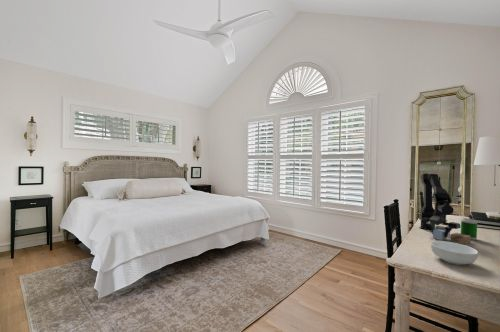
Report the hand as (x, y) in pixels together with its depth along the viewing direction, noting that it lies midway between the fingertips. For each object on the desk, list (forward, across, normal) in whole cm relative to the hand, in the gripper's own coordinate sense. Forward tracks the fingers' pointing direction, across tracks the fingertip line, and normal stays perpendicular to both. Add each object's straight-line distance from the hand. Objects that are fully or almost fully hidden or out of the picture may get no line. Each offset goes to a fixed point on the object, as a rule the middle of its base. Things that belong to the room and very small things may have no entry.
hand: (439, 236), depth 150 cm
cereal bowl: (+1, +21, -37) cm, 43 cm away
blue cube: (+1, 0, 0) cm, 1 cm away
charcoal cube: (+1, -4, +11) cm, 12 cm away
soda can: (+1, +8, +17) cm, 19 cm away
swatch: (+1, +2, +9) cm, 9 cm away
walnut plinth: (+1, +9, +4) cm, 10 cm away
